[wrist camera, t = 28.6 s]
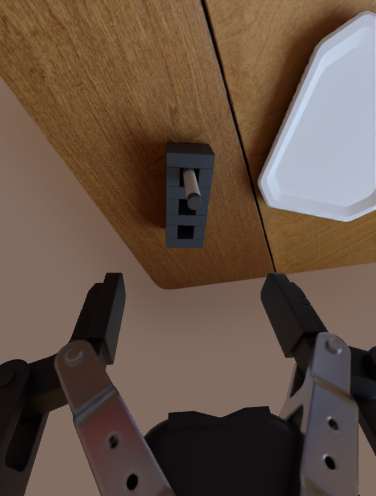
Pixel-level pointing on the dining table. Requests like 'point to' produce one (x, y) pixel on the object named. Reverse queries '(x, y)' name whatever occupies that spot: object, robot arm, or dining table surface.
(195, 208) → the stylus
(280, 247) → the dining table surface
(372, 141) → the plate
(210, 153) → the pen block
